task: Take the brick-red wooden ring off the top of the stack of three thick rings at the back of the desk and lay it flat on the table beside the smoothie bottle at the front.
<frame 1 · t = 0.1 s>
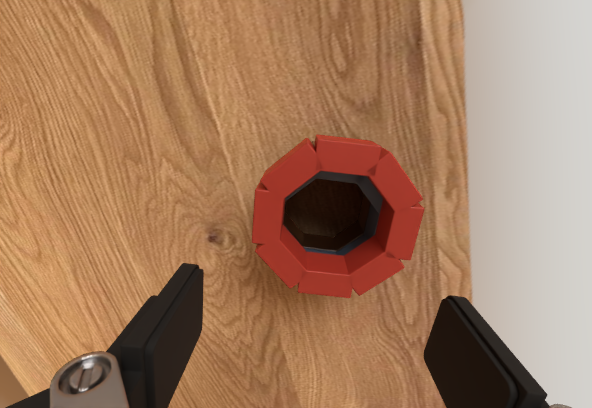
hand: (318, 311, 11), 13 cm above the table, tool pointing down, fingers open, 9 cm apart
ring top: (331, 211, 18), point 5 cm above the table, touching ring middle
ring middle: (326, 212, 21), point 2 cm above the table, touching ring bottom, ring top
ring bottom: (323, 201, 23), on the table, touching ring middle
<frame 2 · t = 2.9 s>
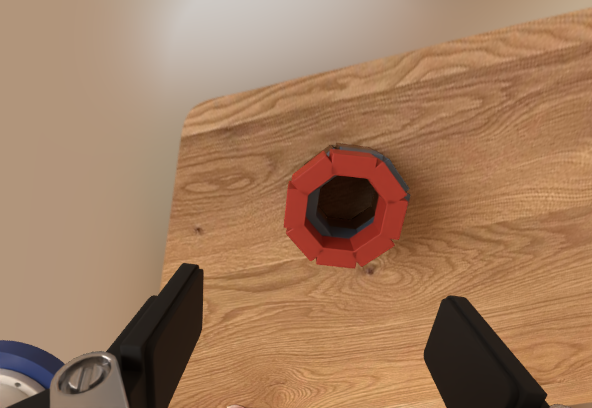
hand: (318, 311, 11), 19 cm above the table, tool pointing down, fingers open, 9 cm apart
ring top: (340, 204, 24), point 5 cm above the table, touching ring middle
ring middle: (348, 198, 27), point 2 cm above the table, touching ring bottom, ring top
ring bottom: (344, 190, 29), on the table, touching ring middle
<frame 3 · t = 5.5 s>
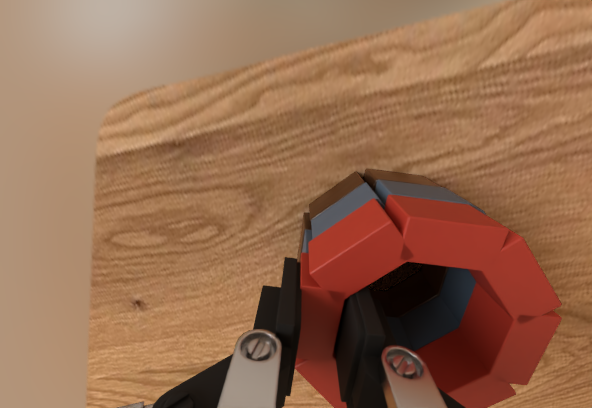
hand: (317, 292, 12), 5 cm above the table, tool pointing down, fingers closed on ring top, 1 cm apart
ring top: (399, 297, 13), point 5 cm above the table, touching gripper, ring middle
ring middle: (388, 268, 15), point 2 cm above the table, touching ring bottom, ring top
ring bottom: (376, 246, 17), on the table, touching ring middle
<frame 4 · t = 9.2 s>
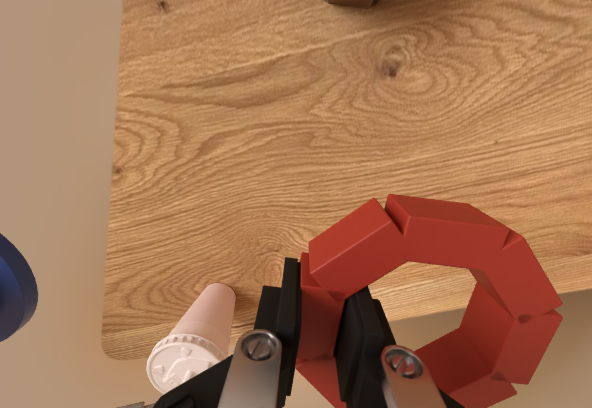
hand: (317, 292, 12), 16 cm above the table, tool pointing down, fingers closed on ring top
ring top: (400, 296, 13), point 16 cm above the table, touching gripper
smoothie: (219, 296, 32), on the table
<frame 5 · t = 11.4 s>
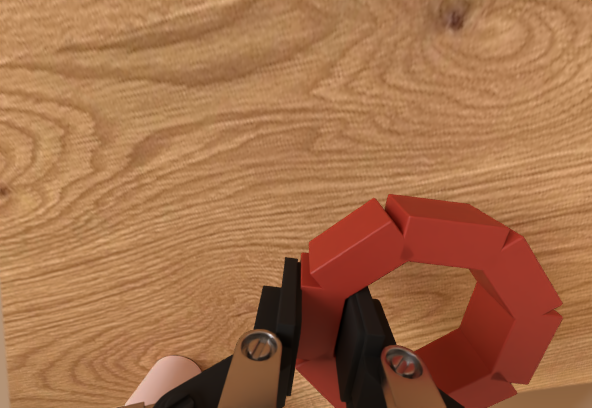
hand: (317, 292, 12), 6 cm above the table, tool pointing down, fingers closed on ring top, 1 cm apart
ring top: (400, 296, 13), point 5 cm above the table, touching gripper
smoothie: (178, 372, 22), on the table
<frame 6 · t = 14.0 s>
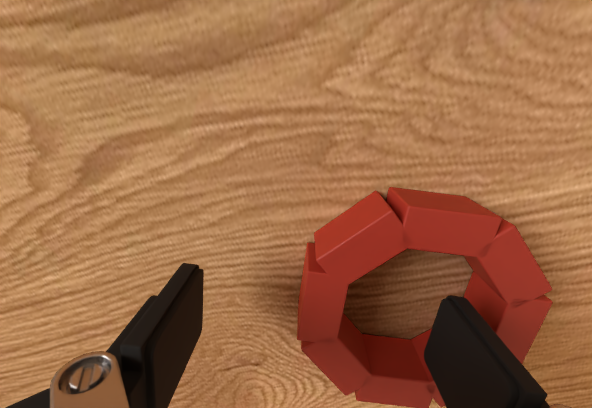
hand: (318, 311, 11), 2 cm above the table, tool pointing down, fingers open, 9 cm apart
ring top: (400, 285, 13), on the table
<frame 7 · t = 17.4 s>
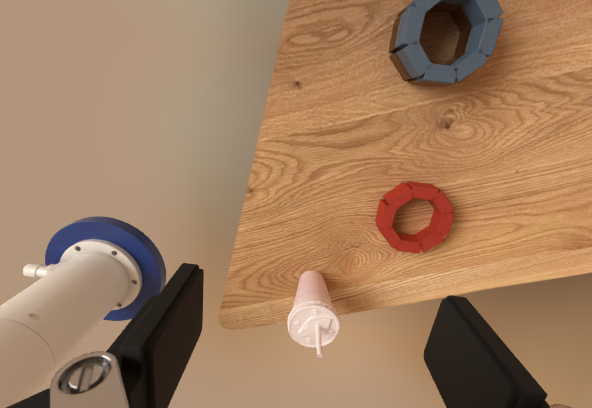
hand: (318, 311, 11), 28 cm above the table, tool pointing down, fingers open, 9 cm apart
ring top: (410, 214, 40), on the table
ring middle: (441, 36, 31), point 2 cm above the table, touching ring bottom
smoothie: (311, 280, 44), on the table
ring bottom: (431, 41, 33), on the table, touching ring middle
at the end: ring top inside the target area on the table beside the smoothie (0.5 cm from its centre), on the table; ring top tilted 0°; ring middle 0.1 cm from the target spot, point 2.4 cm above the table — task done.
